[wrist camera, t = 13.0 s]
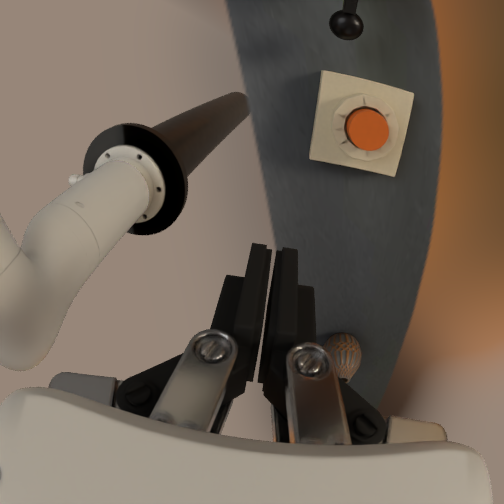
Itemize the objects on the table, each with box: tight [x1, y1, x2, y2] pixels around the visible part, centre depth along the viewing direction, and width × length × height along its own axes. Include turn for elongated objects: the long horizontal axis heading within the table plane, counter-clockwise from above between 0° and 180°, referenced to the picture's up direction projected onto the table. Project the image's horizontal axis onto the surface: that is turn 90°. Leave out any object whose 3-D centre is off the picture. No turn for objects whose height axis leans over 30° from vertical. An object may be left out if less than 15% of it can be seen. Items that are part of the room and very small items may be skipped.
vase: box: [323, 333, 361, 383], centre depth 46 cm, size 7×7×9 cm
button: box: [347, 109, 389, 151], centre depth 25 cm, size 4×4×2 cm
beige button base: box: [309, 70, 414, 177], centre depth 27 cm, size 10×10×4 cm
